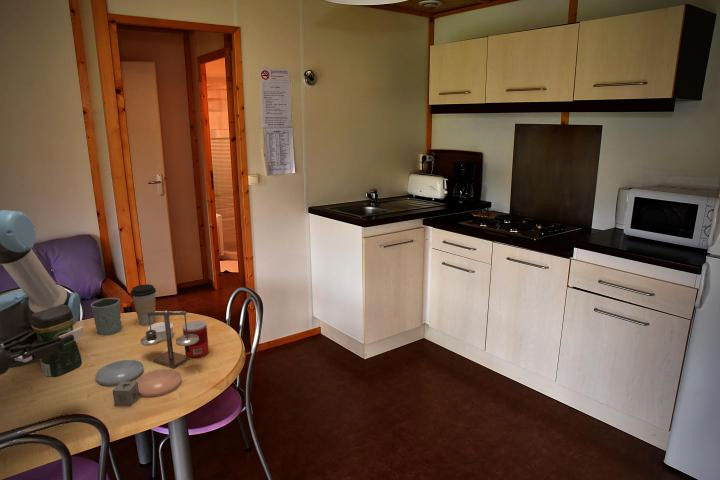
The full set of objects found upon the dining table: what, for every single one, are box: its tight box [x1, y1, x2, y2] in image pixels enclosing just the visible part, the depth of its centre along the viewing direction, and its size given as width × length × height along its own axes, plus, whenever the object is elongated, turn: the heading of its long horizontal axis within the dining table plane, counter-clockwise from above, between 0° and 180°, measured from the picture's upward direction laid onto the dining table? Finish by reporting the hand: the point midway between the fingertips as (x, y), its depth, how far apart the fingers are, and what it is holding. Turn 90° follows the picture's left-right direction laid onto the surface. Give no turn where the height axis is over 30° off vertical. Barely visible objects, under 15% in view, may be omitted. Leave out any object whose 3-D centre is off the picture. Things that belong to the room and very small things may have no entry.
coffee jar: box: [31, 304, 83, 378], centre depth 135 cm, size 10×8×19 cm
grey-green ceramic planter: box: [90, 297, 122, 336], centre depth 191 cm, size 10×10×12 cm
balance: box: [140, 310, 199, 370], centre depth 166 cm, size 24×7×20 cm, turn 64°
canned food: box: [182, 320, 210, 359], centre depth 172 cm, size 8×8×11 cm
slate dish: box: [95, 359, 145, 387], centre depth 160 cm, size 14×14×2 cm
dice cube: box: [112, 381, 140, 407], centre depth 145 cm, size 5×5×5 cm
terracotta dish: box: [134, 368, 182, 398], centre depth 154 cm, size 14×14×2 cm
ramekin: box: [147, 321, 174, 342], centre depth 186 cm, size 9×9×4 cm
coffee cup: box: [130, 284, 157, 326], centre depth 198 cm, size 9×9×15 cm
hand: (72, 328), depth 139 cm, fingers closed on coffee jar, 8 cm apart
